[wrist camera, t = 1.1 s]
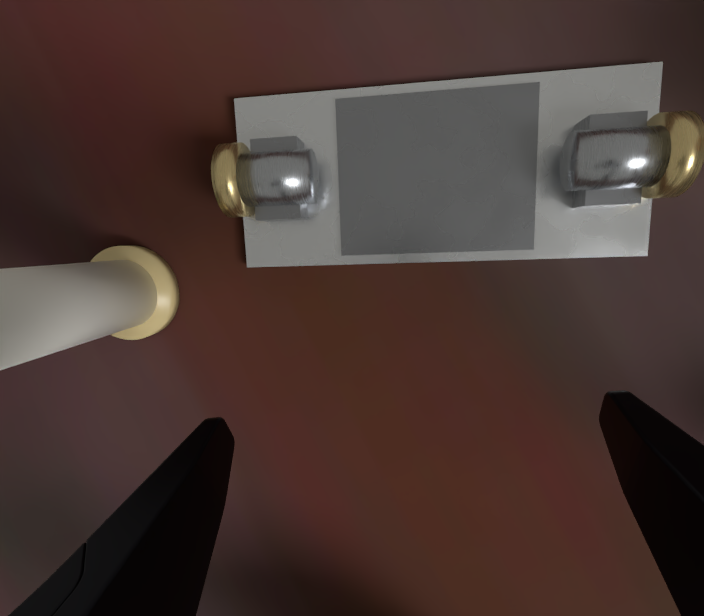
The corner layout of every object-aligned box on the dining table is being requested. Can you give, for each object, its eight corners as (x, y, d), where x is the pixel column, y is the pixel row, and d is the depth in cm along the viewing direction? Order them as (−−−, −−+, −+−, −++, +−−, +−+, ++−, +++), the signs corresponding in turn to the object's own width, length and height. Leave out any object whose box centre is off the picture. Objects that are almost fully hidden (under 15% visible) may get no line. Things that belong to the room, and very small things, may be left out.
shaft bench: (655, 66, 20) (718, 23, 16) (640, 255, 21) (694, 259, 17) (238, 102, 23) (202, 72, 19) (250, 266, 24) (219, 272, 20)
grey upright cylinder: (149, 353, 26) (-65, 449, 14) (79, 298, 26) (-192, 348, 14) (196, 284, 25) (6, 326, 13) (123, 226, 25) (-133, 215, 13)
